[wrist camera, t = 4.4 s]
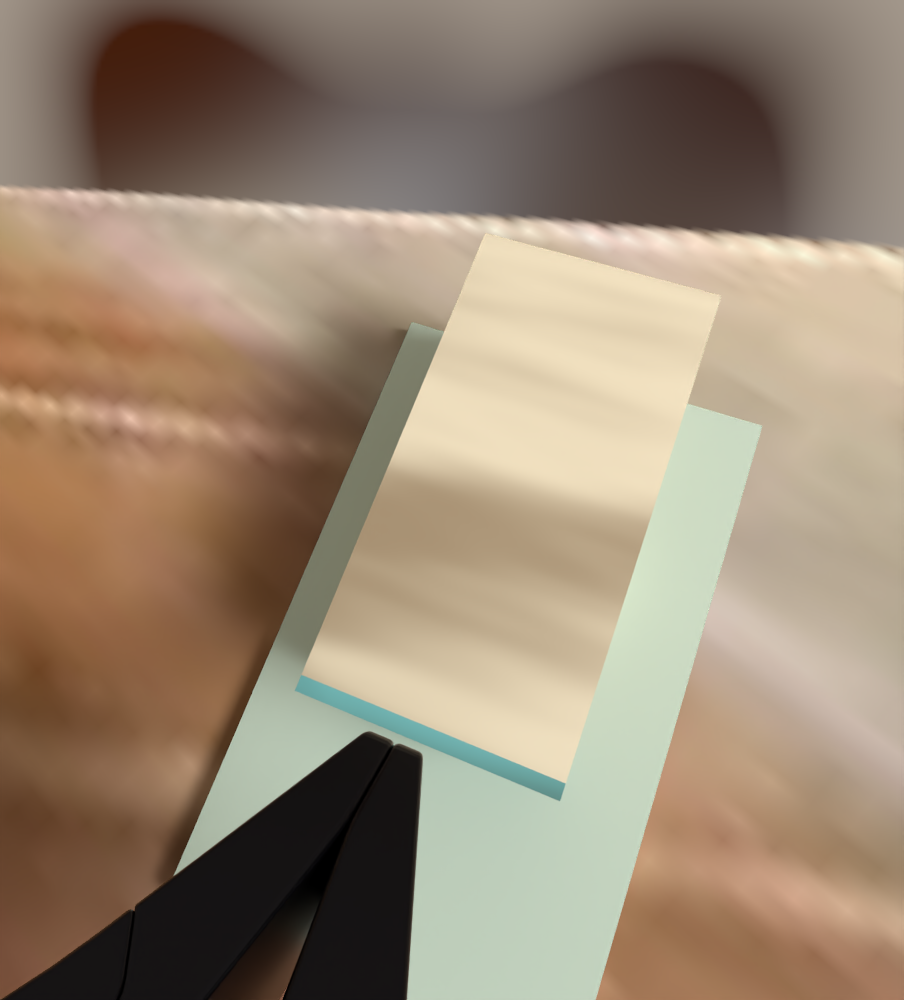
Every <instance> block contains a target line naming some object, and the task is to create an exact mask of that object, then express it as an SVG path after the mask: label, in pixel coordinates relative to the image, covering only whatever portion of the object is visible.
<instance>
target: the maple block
mask: <svg viewBox="0 0 904 1000" xmlns="http://www.w3.org/2000/svg"><path fill="white" fill-rule="evenodd" d="M720 299H721V295H718V294H714V293H710V292H706V291H702V290H699V289H695V288H691V287H687V286H684V285H680V284H676V283H672V282H668V281H665V280H661V279H657V278H653V277H650V276H646V275H642V274H638V273H634V272H631V271H627V270H623V269H619V268H616V267H612V266H608V265H604V264H601V263H597V262H593V261H589V260H585V259H582V258H578V257H574V256H570V255H567V254H563V253H559V252H555V251H551V250H548V249H544V248H540V247H536V246H533V245H529V244H525V243H521V242H518V241H514V240H510V239H506V238H502V237H499V236H495V235H491V234H487V233H485V235H484V237H483V240H482V242H481V245H480V247H479V249H478V252H477V254H476V257H475V259H474V261H473V264H472V266H471V269H470V271H469V273H468V276H467V278H466V281H465V283H464V285H463V288H462V290H461V293H460V295H459V297H458V300H457V302H456V305H455V307H454V309H453V312H452V314H451V317H450V319H449V321H448V324H447V326H446V329H445V331H444V333H443V336H442V338H441V341H440V343H439V345H438V348H437V350H436V353H435V355H434V357H433V360H432V362H431V365H430V367H429V369H428V372H427V374H426V377H425V379H424V381H423V384H422V386H421V389H420V391H419V393H418V396H417V398H416V401H415V403H414V405H413V408H412V410H411V413H410V415H409V417H408V420H407V422H406V425H405V427H404V429H403V432H402V434H401V437H400V439H399V442H398V444H397V446H396V449H395V451H394V454H393V456H392V458H391V461H390V463H389V466H388V468H387V470H386V473H385V475H384V478H383V480H382V482H381V485H380V487H379V490H378V492H377V494H376V497H375V499H374V502H373V504H372V506H371V509H370V511H369V514H368V516H367V518H366V521H365V523H364V526H363V528H362V530H361V533H360V535H359V538H358V540H357V542H356V545H355V547H354V550H353V552H352V554H351V557H350V559H349V562H348V564H347V566H346V569H345V571H344V574H343V576H342V578H341V581H340V583H339V586H338V588H337V590H336V593H335V595H334V598H333V600H332V602H331V605H330V607H329V610H328V612H327V614H326V617H325V619H324V622H323V624H322V626H321V629H320V631H319V634H318V636H317V638H316V641H315V643H314V646H313V648H312V650H311V653H310V655H309V658H308V660H307V662H306V665H305V667H304V670H303V672H302V674H301V677H300V679H299V682H298V684H297V687H296V689H295V691H296V692H299V693H301V694H304V695H306V696H308V697H311V698H313V699H316V700H318V701H320V702H323V703H325V704H328V705H330V706H332V707H335V708H337V709H340V710H342V711H344V712H347V713H349V714H352V715H354V716H356V717H359V718H361V719H364V720H366V721H368V722H371V723H373V724H376V725H378V726H380V727H383V728H385V729H388V730H390V731H392V732H395V733H397V734H400V735H402V736H404V737H407V738H409V739H412V740H414V741H416V742H419V743H421V744H424V745H426V746H428V747H431V748H433V749H436V750H438V751H440V752H443V753H445V754H448V755H450V756H452V757H455V758H457V759H459V760H462V761H464V762H467V763H469V764H471V765H474V766H476V767H479V768H481V769H483V770H486V771H488V772H491V773H493V774H495V775H498V776H500V777H503V778H505V779H507V780H510V781H512V782H515V783H517V784H519V785H522V786H524V787H527V788H529V789H531V790H534V791H536V792H539V793H541V794H543V795H546V796H548V797H551V798H553V799H555V800H558V801H560V800H561V797H562V794H563V791H564V788H565V784H566V781H567V778H568V775H569V772H570V769H571V766H572V763H573V759H574V756H575V753H576V750H577V747H578V744H579V741H580V738H581V734H582V731H583V728H584V725H585V722H586V719H587V716H588V712H589V709H590V706H591V703H592V700H593V697H594V694H595V691H596V687H597V684H598V681H599V678H600V675H601V672H602V669H603V666H604V662H605V659H606V656H607V653H608V650H609V647H610V644H611V641H612V637H613V634H614V631H615V628H616V625H617V622H618V619H619V615H620V612H621V609H622V606H623V603H624V600H625V597H626V594H627V590H628V587H629V584H630V581H631V578H632V575H633V572H634V569H635V565H636V562H637V559H638V556H639V553H640V550H641V547H642V543H643V540H644V537H645V534H646V531H647V528H648V525H649V522H650V518H651V515H652V512H653V509H654V506H655V503H656V500H657V497H658V493H659V490H660V487H661V484H662V481H663V478H664V475H665V472H666V468H667V465H668V462H669V459H670V456H671V453H672V450H673V446H674V443H675V440H676V437H677V434H678V431H679V428H680V425H681V421H682V418H683V415H684V412H685V409H686V406H687V403H688V400H689V396H690V393H691V390H692V387H693V384H694V381H695V378H696V375H697V371H698V368H699V365H700V362H701V359H702V356H703V353H704V349H705V346H706V343H707V340H708V337H709V334H710V331H711V328H712V324H713V321H714V318H715V315H716V312H717V309H718V306H719V303H720Z"/></svg>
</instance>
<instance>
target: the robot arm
mask: <svg viewBox="0 0 904 1000" xmlns="http://www.w3.org/2000/svg"><path fill="white" fill-rule="evenodd" d="M422 769H423V755H422V753H421V752H419V751H417V750H415V749H412V748H410V747H408V746H405V745H403V744H395V745H394V743H393V741H392V740H391V739H388V738H386V737H384V736H381V735H379V734H377V733H374V732H372V731H367V732H364V733H362V734H361V735H359V736H358V737H357V738H355V739H354V740H353V741H351V742H350V743H349V744H347V745H346V746H345V747H343V748H342V749H341V750H340V751H338V752H337V753H336V754H334V755H333V756H332V757H330V758H329V759H328V760H326V761H325V762H324V763H322V764H321V765H320V766H318V767H317V768H316V769H314V770H313V771H312V772H310V773H309V774H308V775H306V776H305V777H304V778H303V779H301V780H300V781H299V782H297V783H296V784H295V785H293V786H292V787H291V788H289V789H288V790H287V791H285V792H284V793H283V794H281V795H280V796H279V797H277V798H276V799H275V800H273V801H272V802H271V803H270V804H268V805H267V806H266V807H264V808H263V809H262V810H260V811H259V812H258V813H256V814H255V815H254V816H252V817H251V818H250V819H248V820H247V821H246V822H244V823H243V824H242V825H240V826H239V827H238V828H236V829H235V830H234V831H233V832H231V833H230V834H229V835H227V836H226V837H225V838H223V839H222V840H221V841H219V842H218V843H217V844H215V845H214V846H213V847H211V848H210V849H209V850H207V851H206V852H205V853H203V854H202V855H201V856H200V857H198V858H197V859H196V860H194V861H193V862H192V863H190V864H189V865H188V866H186V867H185V868H184V869H182V870H181V871H180V872H178V873H177V874H176V875H174V876H173V877H172V878H170V879H169V880H168V881H166V882H165V883H164V884H163V885H161V886H160V887H159V888H157V889H156V890H155V891H153V892H152V893H151V894H149V895H148V896H147V897H145V898H144V899H143V900H141V901H140V902H139V903H137V905H136V906H135V911H133V910H128V911H126V912H125V913H124V914H122V915H121V916H120V917H119V918H117V919H116V920H115V921H113V922H112V923H111V924H109V925H108V926H107V927H105V928H104V929H103V930H101V931H100V932H99V933H97V934H96V935H95V936H93V937H92V938H90V939H89V940H88V941H86V942H85V943H83V944H82V945H81V946H79V947H78V948H77V949H75V950H74V951H72V952H71V953H70V954H68V955H67V956H65V957H64V958H63V959H61V960H60V961H58V962H57V963H56V964H54V965H53V966H51V967H50V968H49V969H47V970H45V971H44V972H42V973H41V974H39V975H38V976H36V977H35V978H33V979H32V980H30V981H29V982H27V983H26V984H24V985H22V986H21V987H19V988H18V989H16V990H15V991H13V992H12V993H10V994H9V995H7V996H6V997H4V998H3V999H1V1000H279V999H280V998H281V996H282V994H283V992H284V991H285V989H286V987H287V989H286V992H285V994H284V997H283V1000H407V993H408V978H409V963H410V948H411V933H412V918H413V903H414V888H415V874H416V859H417V844H418V829H419V814H420V799H421V784H422ZM287 985H288V986H287Z"/></svg>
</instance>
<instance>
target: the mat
mask: <svg viewBox="0 0 904 1000" xmlns="http://www.w3.org/2000/svg"><path fill="white" fill-rule="evenodd" d="M443 333H444V331H440V330H437V329H434V328H430V327H427V326H424V325H420V324H417V323H413V322H411V325H410V327H409V329H408V332H407V334H406V336H405V339H404V341H403V343H402V346H401V348H400V350H399V353H398V355H397V357H396V360H395V362H394V364H393V367H392V369H391V371H390V374H389V376H388V378H387V381H386V383H385V385H384V388H383V390H382V392H381V395H380V397H379V399H378V402H377V404H376V406H375V408H374V411H373V413H372V415H371V418H370V420H369V422H368V425H367V427H366V429H365V432H364V434H363V436H362V439H361V441H360V443H359V446H358V448H357V450H356V453H355V455H354V457H353V460H352V462H351V464H350V467H349V469H348V471H347V474H346V476H345V478H344V481H343V483H342V485H341V488H340V490H339V492H338V495H337V497H336V499H335V502H334V504H333V506H332V509H331V511H330V513H329V516H328V518H327V520H326V523H325V525H324V527H323V530H322V532H321V534H320V536H319V539H318V541H317V543H316V546H315V548H314V550H313V553H312V555H311V557H310V560H309V562H308V564H307V567H306V569H305V571H304V574H303V576H302V578H301V581H300V583H299V585H298V588H297V590H296V592H295V595H294V597H293V599H292V602H291V604H290V606H289V609H288V611H287V613H286V616H285V618H284V620H283V623H282V625H281V627H280V630H279V632H278V634H277V637H276V639H275V641H274V644H273V646H272V648H271V651H270V653H269V655H268V658H267V660H266V662H265V664H264V667H263V669H262V671H261V674H260V676H259V678H258V681H257V683H256V685H255V688H254V690H253V692H252V695H251V697H250V699H249V702H248V704H247V706H246V709H245V711H244V713H243V716H242V718H241V720H240V723H239V725H238V727H237V730H236V732H235V734H234V737H233V739H232V741H231V744H230V746H229V748H228V751H227V753H226V755H225V758H224V760H223V762H222V765H221V767H220V769H219V772H218V774H217V776H216V779H215V781H214V783H213V786H212V788H211V790H210V792H209V795H208V797H207V799H206V802H205V804H204V806H203V809H202V811H201V813H200V816H199V818H198V820H197V823H196V825H195V827H194V830H193V832H192V834H191V837H190V839H189V841H188V844H187V846H186V848H185V851H184V853H183V855H182V858H181V860H180V862H179V865H178V867H177V869H176V872H175V874H174V875H176V874H177V873H178V872H180V871H181V870H182V869H184V868H185V867H186V866H188V865H189V864H190V863H192V862H193V861H194V860H196V859H197V858H198V857H200V856H201V855H202V854H203V853H205V852H206V851H207V850H209V849H210V848H211V847H213V846H214V845H215V844H217V843H218V842H219V841H221V840H222V839H223V838H225V837H226V836H227V835H229V834H230V833H231V832H233V831H234V830H235V829H236V828H238V827H239V826H240V825H242V824H243V823H244V822H246V821H247V820H248V819H250V818H251V817H252V816H254V815H255V814H256V813H258V812H259V811H260V810H262V809H263V808H264V807H266V806H267V805H268V804H270V803H271V802H272V801H273V800H275V799H276V798H277V797H279V796H280V795H281V794H283V793H284V792H285V791H287V790H288V789H289V788H291V787H292V786H293V785H295V784H296V783H297V782H299V781H300V780H301V779H303V778H304V777H305V776H306V775H308V774H309V773H310V772H312V771H313V770H314V769H316V768H317V767H318V766H320V765H321V764H322V763H324V762H325V761H326V760H328V759H329V758H330V757H332V756H333V755H334V754H336V753H337V752H338V751H340V750H341V749H342V748H343V747H345V746H346V745H347V744H349V743H350V742H351V741H353V740H354V739H355V738H357V737H358V736H359V735H361V734H362V733H364V732H367V731H372V732H374V733H377V734H379V735H381V736H384V737H386V738H388V739H391V740H392V741H393V743H394V745H395V744H403V745H405V746H408V747H410V748H412V749H415V750H417V751H419V752H421V753H422V755H423V769H422V784H421V799H420V814H419V829H418V844H417V859H416V874H415V888H414V903H413V918H412V933H411V948H410V963H409V978H408V993H407V1000H596V996H597V993H598V989H599V986H600V983H601V979H602V976H603V972H604V969H605V965H606V962H607V958H608V955H609V952H610V948H611V945H612V941H613V938H614V934H615V931H616V927H617V924H618V921H619V917H620V914H621V910H622V907H623V903H624V900H625V897H626V893H627V890H628V886H629V883H630V879H631V876H632V872H633V869H634V866H635V862H636V859H637V855H638V852H639V848H640V845H641V841H642V838H643V835H644V831H645V828H646V824H647V821H648V817H649V814H650V811H651V807H652V804H653V800H654V797H655V793H656V790H657V786H658V783H659V780H660V776H661V773H662V769H663V766H664V762H665V759H666V755H667V752H668V749H669V745H670V742H671V738H672V735H673V731H674V728H675V724H676V721H677V718H678V714H679V711H680V707H681V704H682V700H683V697H684V694H685V690H686V687H687V683H688V680H689V676H690V673H691V669H692V666H693V663H694V659H695V656H696V652H697V649H698V645H699V642H700V638H701V635H702V632H703V628H704V625H705V621H706V618H707V614H708V611H709V608H710V604H711V601H712V597H713V594H714V590H715V587H716V583H717V580H718V577H719V573H720V570H721V566H722V563H723V559H724V556H725V552H726V549H727V546H728V542H729V539H730V535H731V532H732V528H733V525H734V521H735V518H736V515H737V511H738V508H739V504H740V501H741V497H742V494H743V491H744V487H745V484H746V480H747V477H748V473H749V470H750V466H751V463H752V460H753V456H754V453H755V449H756V446H757V442H758V439H759V435H760V432H761V429H762V426H761V425H758V424H754V423H751V422H747V421H744V420H741V419H737V418H734V417H731V416H727V415H724V414H720V413H717V412H714V411H710V410H707V409H704V408H700V407H697V406H694V405H690V404H687V406H686V409H685V412H684V415H683V418H682V421H681V425H680V428H679V431H678V434H677V437H676V440H675V443H674V446H673V450H672V453H671V456H670V459H669V462H668V465H667V468H666V472H665V475H664V478H663V481H662V484H661V487H660V490H659V493H658V497H657V500H656V503H655V506H654V509H653V512H652V515H651V518H650V522H649V525H648V528H647V531H646V534H645V537H644V540H643V543H642V547H641V550H640V553H639V556H638V559H637V562H636V565H635V569H634V572H633V575H632V578H631V581H630V584H629V587H628V590H627V594H626V597H625V600H624V603H623V606H622V609H621V612H620V615H619V619H618V622H617V625H616V628H615V631H614V634H613V637H612V641H611V644H610V647H609V650H608V653H607V656H606V659H605V662H604V666H603V669H602V672H601V675H600V678H599V681H598V684H597V687H596V691H595V694H594V697H593V700H592V703H591V706H590V709H589V712H588V716H587V719H586V722H585V725H584V728H583V731H582V734H581V738H580V741H579V744H578V747H577V750H576V753H575V756H574V759H573V763H572V766H571V769H570V772H569V775H568V778H567V781H566V784H565V788H564V791H563V794H562V797H561V800H560V801H558V800H555V799H553V798H551V797H548V796H546V795H543V794H541V793H539V792H536V791H534V790H531V789H529V788H527V787H524V786H522V785H519V784H517V783H515V782H512V781H510V780H507V779H505V778H503V777H500V776H498V775H495V774H493V773H491V772H488V771H486V770H483V769H481V768H479V767H476V766H474V765H471V764H469V763H467V762H464V761H462V760H459V759H457V758H455V757H452V756H450V755H448V754H445V753H443V752H440V751H438V750H436V749H433V748H431V747H428V746H426V745H424V744H421V743H419V742H416V741H414V740H412V739H409V738H407V737H404V736H402V735H400V734H397V733H395V732H392V731H390V730H388V729H385V728H383V727H380V726H378V725H376V724H373V723H371V722H368V721H366V720H364V719H361V718H359V717H356V716H354V715H352V714H349V713H347V712H344V711H342V710H340V709H337V708H335V707H332V706H330V705H328V704H325V703H323V702H320V701H318V700H316V699H313V698H311V697H308V696H306V695H304V694H301V693H299V692H296V691H295V689H296V687H297V684H298V682H299V679H300V677H301V674H302V672H303V670H304V667H305V665H306V662H307V660H308V658H309V655H310V653H311V650H312V648H313V646H314V643H315V641H316V638H317V636H318V634H319V631H320V629H321V626H322V624H323V622H324V619H325V617H326V614H327V612H328V610H329V607H330V605H331V602H332V600H333V598H334V595H335V593H336V590H337V588H338V586H339V583H340V581H341V578H342V576H343V574H344V571H345V569H346V566H347V564H348V562H349V559H350V557H351V554H352V552H353V550H354V547H355V545H356V542H357V540H358V538H359V535H360V533H361V530H362V528H363V526H364V523H365V521H366V518H367V516H368V514H369V511H370V509H371V506H372V504H373V502H374V499H375V497H376V494H377V492H378V490H379V487H380V485H381V482H382V480H383V478H384V475H385V473H386V470H387V468H388V466H389V463H390V461H391V458H392V456H393V454H394V451H395V449H396V446H397V444H398V442H399V439H400V437H401V434H402V432H403V429H404V427H405V425H406V422H407V420H408V417H409V415H410V413H411V410H412V408H413V405H414V403H415V401H416V398H417V396H418V393H419V391H420V389H421V386H422V384H423V381H424V379H425V377H426V374H427V372H428V369H429V367H430V365H431V362H432V360H433V357H434V355H435V353H436V350H437V348H438V345H439V343H440V341H441V338H442V336H443Z"/></svg>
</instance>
